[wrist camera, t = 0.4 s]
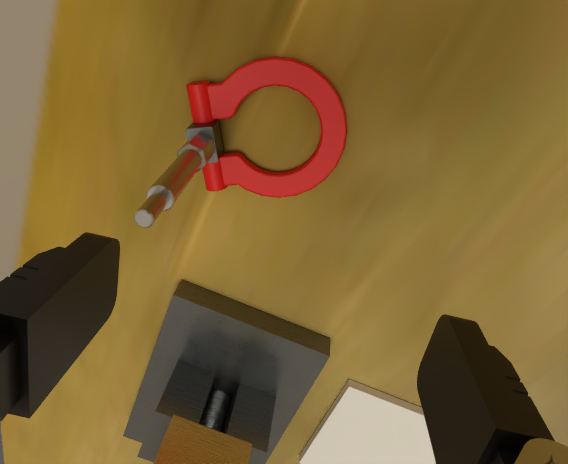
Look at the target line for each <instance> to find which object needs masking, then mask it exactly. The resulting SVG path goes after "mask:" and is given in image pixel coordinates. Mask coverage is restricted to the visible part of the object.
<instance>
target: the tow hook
mask: <svg viewBox="0 0 568 464" xmlns="http://www.w3.org/2000/svg"><path fill="white" fill-rule="evenodd" d="M273 85H277V86H286V87H289V88H292V89H294V90H296V91H299V92H300V93H301V94H303V95H304V96H305V97H307V98H308V99H309V100H310V102H311V103H312V104H313V106H314V107H315V108H316V110H317V113H318V115H319V118H320V121H321V129H322V131H321V138H320V142H319V144H318V147H317V149H316V151H315V153H314V154H313V155H312V156H311V158H310V159H309V160H308V161H307V162H305V163H304V164H303V165H301V166H300V167H298V168H295V169H293V170H290V171H285V172H271V171H266V170H263V169H261V168H258V167H256V166H255V165H253V164H252V163H251V162H249V161H248V160H247V159H246V158H245V157H244V156H243V154H241V153H239V152H234V153H223V151H224V150H223V144H222V138H221V132H220V126H219V121H218V119H227V118H231V117H232V116H233V115H234V114H235V113H236V110H237V108H238V106H239V105H240V103H241V102H242V100H243V99H244V98H245V97H247V96H248V95H249V94H250V93H251V92H253V91H255V90H258V89H260V88H262V87H267V86H273ZM186 87H187V92H188V97H189V102H190V107H191V112H192V117H193V123H192V124H191V125H190V126H189V127H188V128H187V129H186V130H185V132H186V137H187V142H186V143H185V144H184V145H183V146H182V148H181V149H180V150H179V151H178V152H177V156H178V157H177V159H176V160H175V161H174V162H173V163H172V164H171V165H170V166H169V167H168V169H167V170H166V171H165V172H164V173H163V174H162V175H161V176H160V177H159V179H158V180H157V181H156V182H155V183H154V184H153V185H152V186H151V188H150V189H149V190H148V192H147V195H146V197H147V200H146V201H145V202H144V203H143V204H142V206H141V207H140V208H139V209H138V210H137V211H136V213H135V214H134V220H135V222H136V223H137V224H138V225H139V226H141V227H144V228H147V227H150V226H151V225H152V224H153V223H154V222H155V220H156V219H157V218H158V216H159V215H160V214H161V212H162V211H166V210H168V209H170V208H171V207H172V206H173V204H174V203H175V201H176V200H177V199H178V197H179V196H180V194H181V193H182V191H183V190H184V189H185V187H186V186H187V184H188V183H189V182H190V180H191V179H192V177H193V176H194V174H195V173H196V172H198V171H199V170H200V169H202V168H203V174H204V179H205V184H206V189H207V190H208V191H220V190H223V189H225V188H227V187H228V185H240V186H241V187H243V188H244V189H246V190H248V191H251V192H253V193H256V194H259V195H261V196H270V197H278V198H279V197H287V196H295V195H298V194H300V193H303V192H306V191H308V190H311V189H312V188H314V187H315V186H317V185H318V184H319V183H321V182H322V181H323V180H325V179H326V178H327V177H328V175H329V174H330V173H331V172H332V170H333V169H334V168H335V167H336V166H337V164H338V161H339V159H340V157H341V155H342V153H343V150H344V146H345V140H346V134H347V127H346V117H345V111H344V108H343V106H342V103H341V100H340V98H339V95H338V93H337V92H336V90H335V89H334V88H333V86H332V85H331V83H330V82H329V81H328V79H327V78H326V77H325V76H323V75H322V74H321V73H319V72H318V71H317V70H316V69H314V68H313V67H312V66H310V65H307V64H305V63H302V62H300V61H298V60H295V59H291V58H282V57H269V58H263V59H257V60H254V61H252V62H250V63H248V64H246V65H244V66H242V67H240V68H238V69H237V70H236V71H235V72H233V73H232V74H231V75H230V76H229V77H228V78H227V79H226V80H224V81H223V82H220V83H211V84H210V82H209V81H199V82H193V83H189V84H187V85H186Z"/></svg>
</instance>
